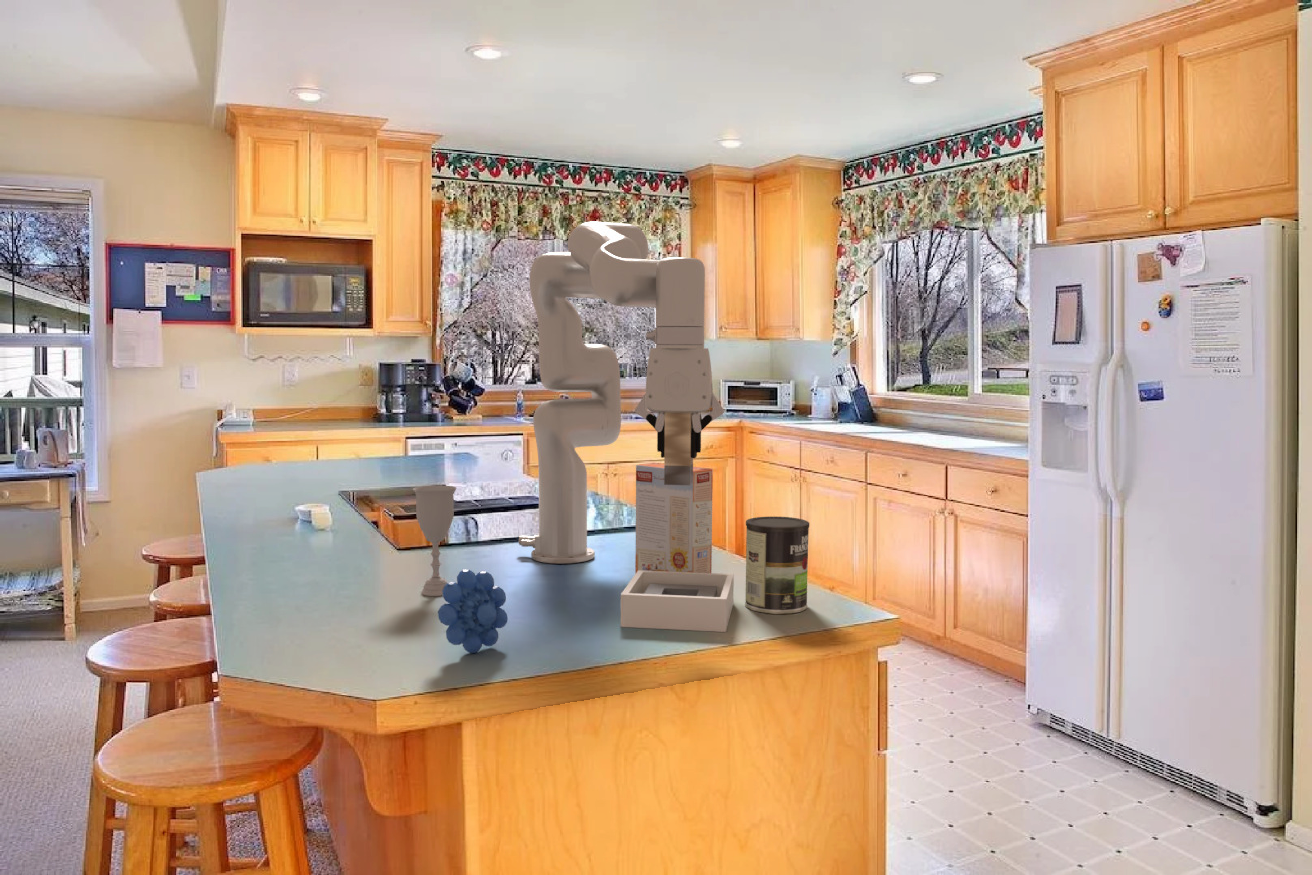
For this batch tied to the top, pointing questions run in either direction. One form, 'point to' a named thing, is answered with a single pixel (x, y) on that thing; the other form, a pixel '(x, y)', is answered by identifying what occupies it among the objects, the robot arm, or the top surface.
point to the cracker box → (673, 521)
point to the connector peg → (678, 449)
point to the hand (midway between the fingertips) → (679, 455)
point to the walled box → (678, 601)
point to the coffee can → (776, 564)
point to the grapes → (473, 610)
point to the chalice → (434, 527)
